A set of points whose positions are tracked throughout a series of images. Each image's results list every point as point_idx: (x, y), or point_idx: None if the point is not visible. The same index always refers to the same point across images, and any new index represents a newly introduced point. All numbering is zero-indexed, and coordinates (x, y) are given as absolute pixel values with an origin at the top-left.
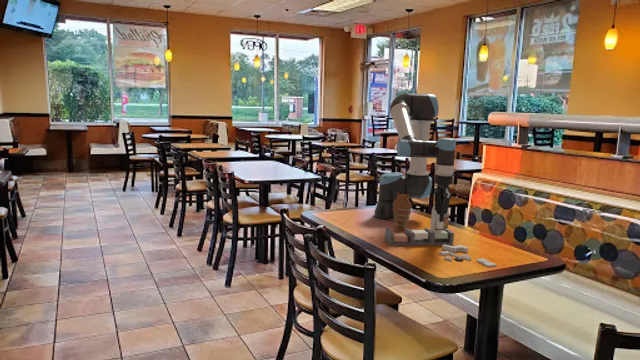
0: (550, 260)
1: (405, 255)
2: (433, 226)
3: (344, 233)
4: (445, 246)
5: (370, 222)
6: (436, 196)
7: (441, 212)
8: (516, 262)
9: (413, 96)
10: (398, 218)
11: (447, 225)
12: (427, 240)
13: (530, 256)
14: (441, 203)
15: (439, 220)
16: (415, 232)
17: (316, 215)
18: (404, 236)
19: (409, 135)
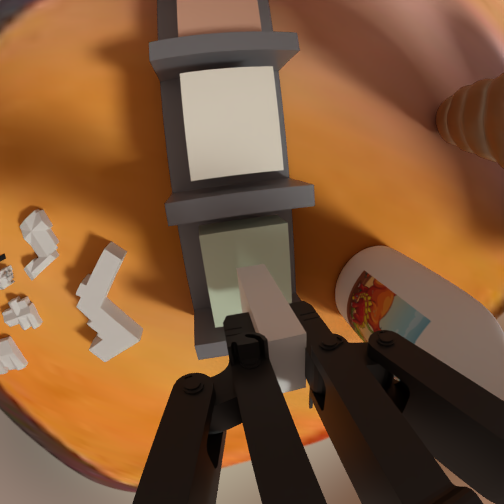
0: (119, 484)
1: (20, 48)
2: (384, 270)
3: None
4: (97, 262)
5: (492, 57)
6: (500, 450)
7: (181, 387)
8: (61, 431)
9: None
10: (469, 88)
11: None
12: (228, 184)
13: (134, 472)
14: (260, 493)
15: (246, 316)
16: (200, 82)
17: None
18: (177, 18)
19: None
